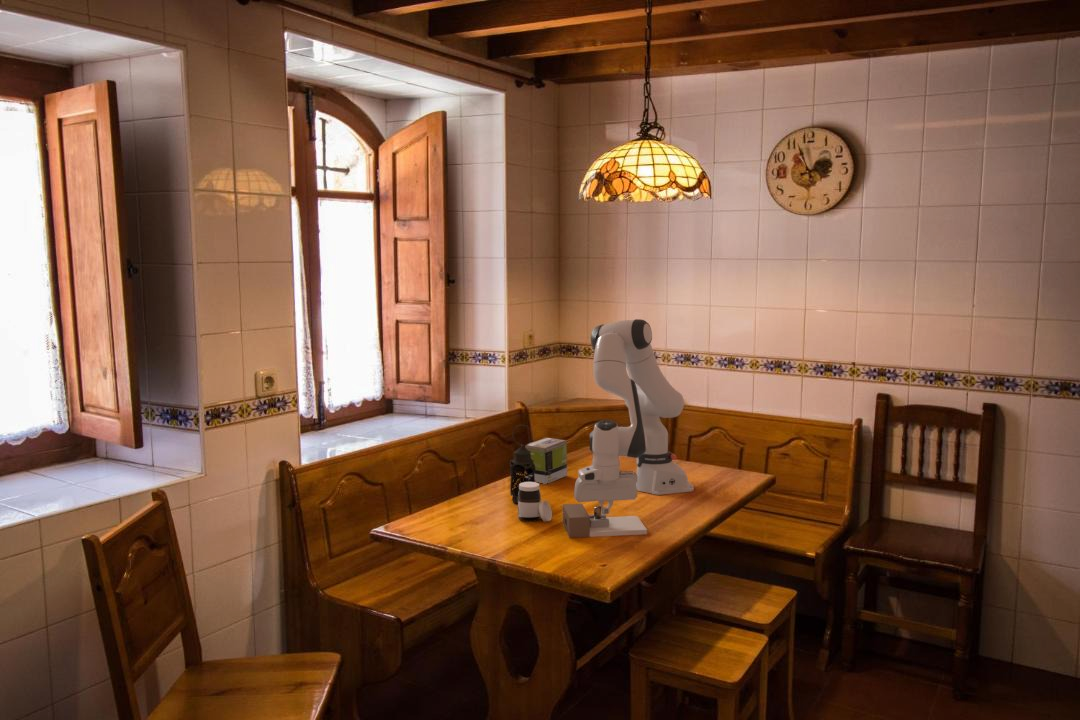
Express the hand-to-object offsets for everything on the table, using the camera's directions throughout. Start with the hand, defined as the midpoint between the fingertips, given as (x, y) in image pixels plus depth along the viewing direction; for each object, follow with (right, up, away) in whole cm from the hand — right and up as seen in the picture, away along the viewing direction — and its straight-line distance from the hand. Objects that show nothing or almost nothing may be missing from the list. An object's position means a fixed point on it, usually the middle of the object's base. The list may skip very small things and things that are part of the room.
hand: (605, 513), depth 280 cm
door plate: (0, -5, +1) cm, 5 cm away
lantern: (-27, -1, +30) cm, 41 cm away
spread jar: (-23, -4, +11) cm, 26 cm away
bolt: (-6, -4, 0) cm, 7 cm away
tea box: (-19, +3, +60) cm, 63 cm away
